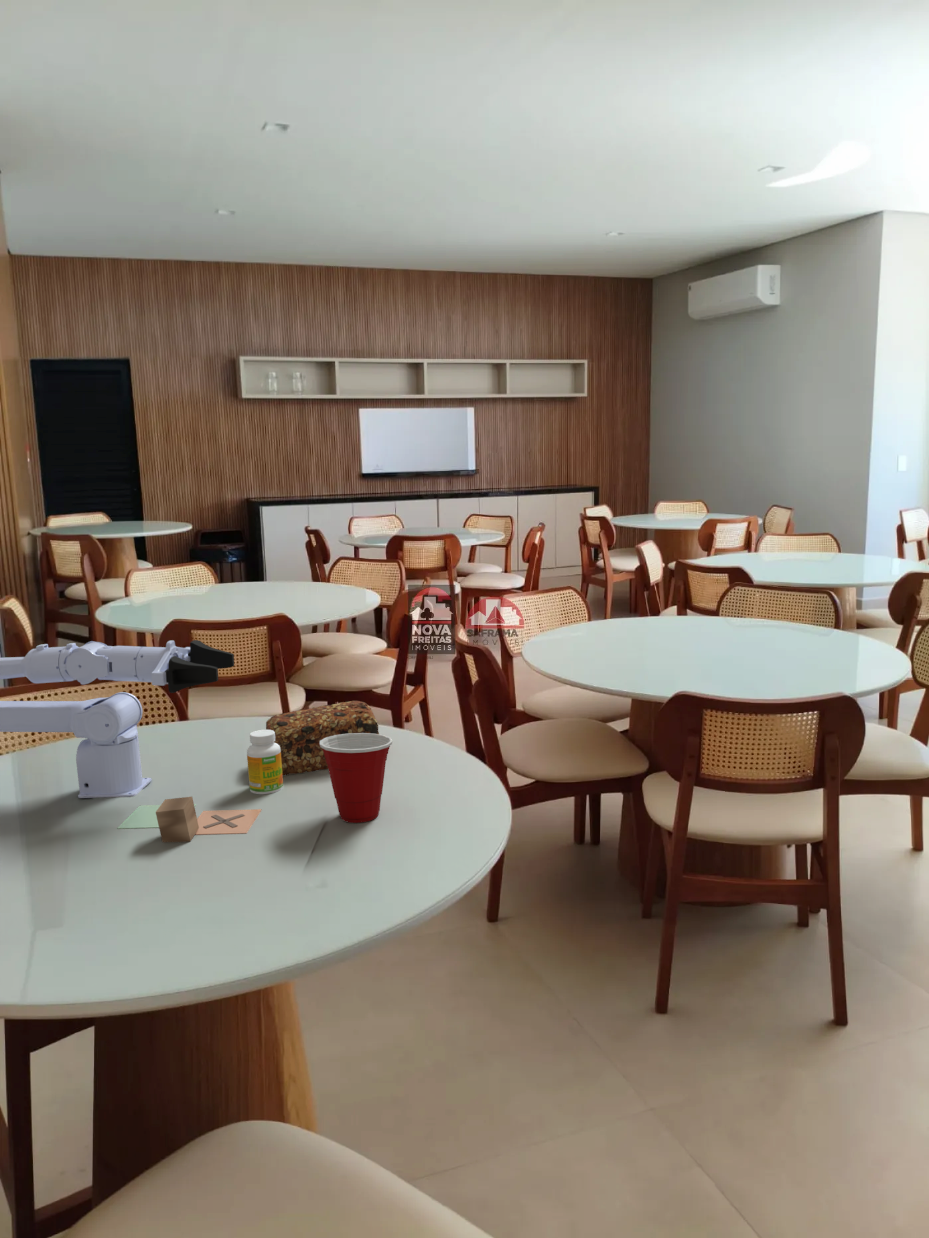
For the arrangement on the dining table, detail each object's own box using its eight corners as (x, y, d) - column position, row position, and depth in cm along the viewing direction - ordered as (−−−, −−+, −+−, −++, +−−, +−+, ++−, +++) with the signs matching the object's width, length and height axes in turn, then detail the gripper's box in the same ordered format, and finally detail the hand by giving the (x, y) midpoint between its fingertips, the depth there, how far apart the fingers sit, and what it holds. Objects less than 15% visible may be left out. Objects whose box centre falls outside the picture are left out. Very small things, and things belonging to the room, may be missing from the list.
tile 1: (117, 830, 134) (117, 828, 134) (140, 807, 143) (139, 805, 143) (177, 829, 134) (177, 826, 134) (196, 806, 143) (196, 803, 143)
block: (162, 844, 129) (155, 812, 128) (172, 830, 133) (165, 799, 132) (190, 841, 129) (183, 809, 128) (199, 827, 133) (192, 796, 131)
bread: (368, 746, 171) (365, 695, 169) (382, 763, 161) (379, 708, 159) (267, 760, 165) (263, 707, 163) (275, 779, 155) (271, 722, 153)
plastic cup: (409, 807, 140) (405, 731, 137) (373, 833, 130) (368, 753, 128) (348, 798, 144) (344, 725, 142) (309, 823, 134) (304, 745, 132)
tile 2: (184, 837, 131) (184, 833, 131) (203, 813, 140) (203, 810, 140) (246, 835, 131) (246, 832, 131) (261, 811, 140) (261, 808, 140)
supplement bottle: (264, 798, 146) (260, 739, 144) (242, 792, 149) (238, 734, 147) (290, 788, 150) (286, 731, 148) (268, 782, 153) (264, 726, 151)
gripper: (121, 653, 140) (208, 656, 139) (159, 628, 154) (238, 631, 153) (125, 696, 142) (210, 700, 141) (162, 668, 156) (240, 671, 154)
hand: (225, 667), depth 147 cm, fingers open, 7 cm apart
